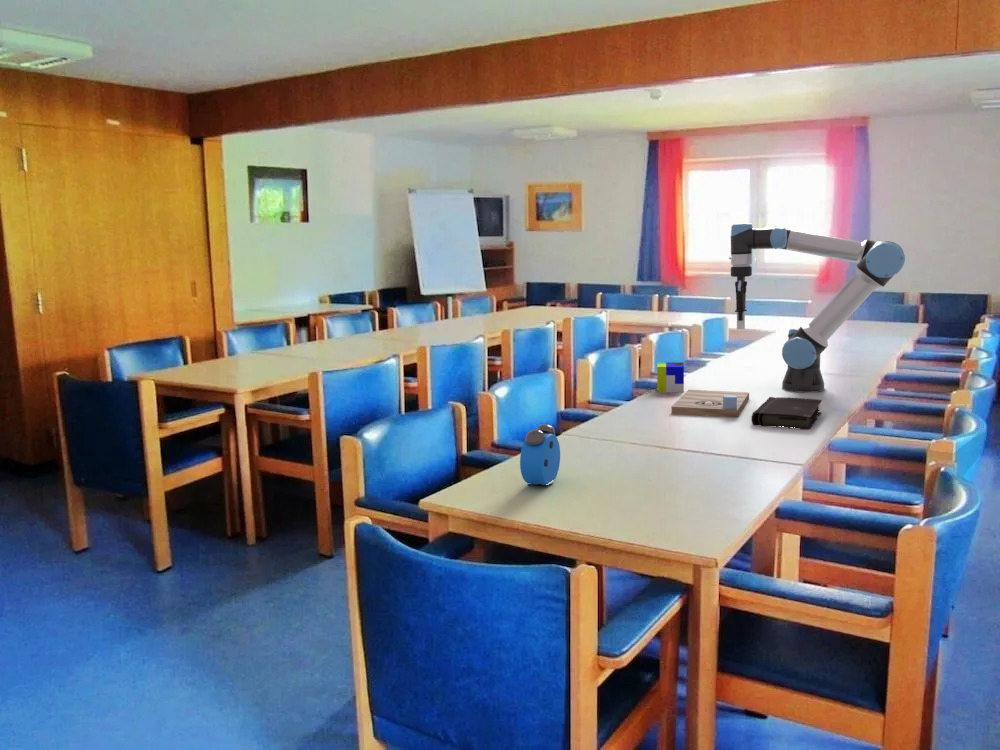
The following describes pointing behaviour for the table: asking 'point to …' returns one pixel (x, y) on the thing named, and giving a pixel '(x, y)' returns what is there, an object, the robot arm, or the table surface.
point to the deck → (695, 405)
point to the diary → (787, 412)
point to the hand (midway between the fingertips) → (740, 329)
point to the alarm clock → (540, 455)
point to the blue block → (729, 401)
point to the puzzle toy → (670, 377)
